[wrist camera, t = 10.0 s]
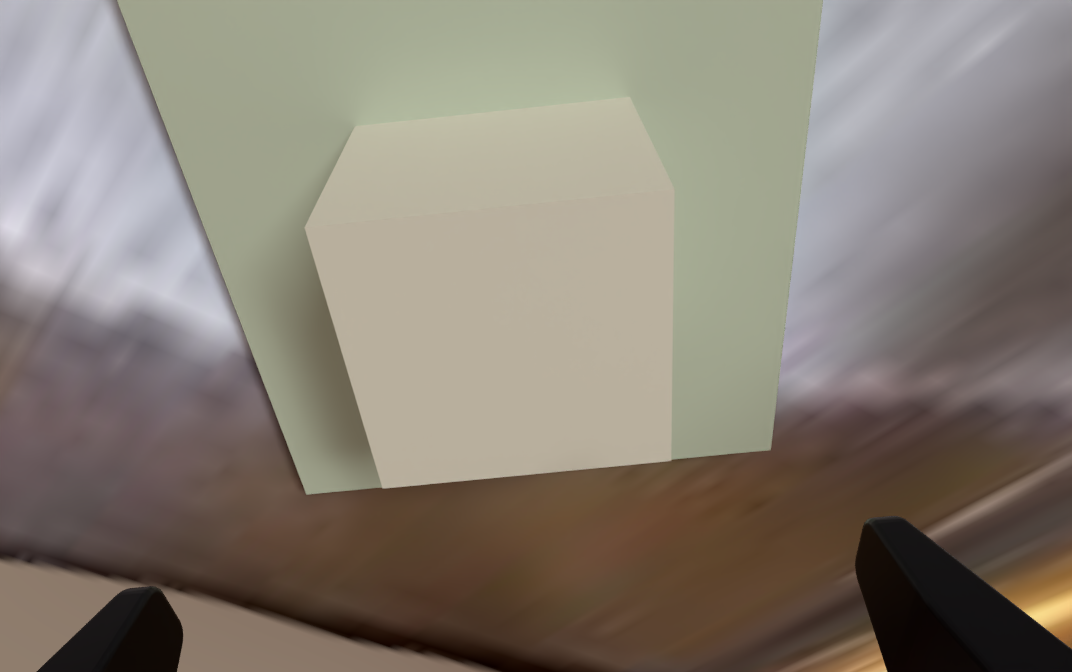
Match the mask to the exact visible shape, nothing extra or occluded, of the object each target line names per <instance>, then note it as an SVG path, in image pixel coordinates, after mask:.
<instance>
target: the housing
mask: <svg viewBox="0 0 1072 672" xmlns="http://www.w3.org/2000/svg"><path fill="white" fill-rule="evenodd" d="M674 198H675V189H674V187H673V185H672V183H671V181H670V179H669V177H668V174H667V172H666V170H665V168H664V166H663V164H662V162H661V160H660V158H659V156H658V154H657V152H656V150H655V148H654V146H653V144H652V142H651V140H650V137H649V135H648V133H647V131H646V129H645V127H644V125H643V123H642V121H641V119H640V117H639V115H638V113H637V111H636V109H635V107H634V105H633V103H632V100H631V98H630V97H624V98H614V99H605V100H596V101H586V102H577V103H568V104H558V105H549V106H539V107H530V108H521V109H511V110H502V111H493V112H483V113H474V114H465V115H455V116H446V117H436V118H427V119H418V120H408V121H399V122H390V123H380V124H371V125H361V126H355V127H354V129H353V131H352V133H351V135H350V137H349V139H348V141H347V143H346V145H345V147H344V149H343V151H342V153H341V155H340V157H339V159H338V161H337V163H336V165H335V167H334V169H333V171H332V173H331V175H330V177H329V179H328V181H327V183H326V185H325V187H324V189H323V191H322V193H321V195H320V197H319V199H318V201H317V203H316V205H315V207H314V209H313V211H312V213H311V215H310V217H309V219H308V221H307V223H306V225H305V227H304V228H305V231H306V235H307V238H308V241H309V245H310V248H311V251H312V255H313V258H314V261H315V265H316V268H317V271H318V275H319V278H320V281H321V285H322V288H323V291H324V295H325V298H326V301H327V305H328V308H329V311H330V315H331V318H332V321H333V325H334V328H335V331H336V335H337V338H338V341H339V345H340V348H341V351H342V355H343V358H344V361H345V365H346V368H347V371H348V375H349V378H350V381H351V385H352V388H353V391H354V395H355V398H356V401H357V405H358V408H359V411H360V415H361V418H362V421H363V425H364V428H365V431H366V435H367V438H368V441H369V445H370V448H371V452H372V455H373V458H374V462H375V465H376V468H377V472H378V475H379V478H380V482H381V485H382V488H383V489H384V488H395V487H405V486H416V485H426V484H436V483H447V482H457V481H468V480H478V479H488V478H499V477H509V476H519V475H530V474H540V473H551V472H561V471H571V470H582V469H592V468H603V467H613V466H623V465H634V464H644V463H654V462H665V461H671V440H672V360H673V279H674Z"/></svg>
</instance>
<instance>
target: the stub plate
mask: <svg viewBox="0 0 1072 672" xmlns="http://www.w3.org/2000/svg"><path fill="white" fill-rule="evenodd" d="M117 2H118V5H119V7H120V10H121V12H122V15H123V18H124V20H125V23H126V25H127V28H128V31H129V33H130V36H131V38H132V41H133V44H134V46H135V49H136V52H137V54H138V57H139V59H140V62H141V65H142V67H143V70H144V72H145V75H146V78H147V80H148V83H149V85H150V88H151V91H152V93H153V96H154V98H155V101H156V104H157V106H158V109H159V111H160V114H161V117H162V119H163V122H164V124H165V127H166V130H167V132H168V135H169V138H170V140H171V143H172V145H173V148H174V151H175V153H176V156H177V158H178V161H179V164H180V166H181V169H182V171H183V174H184V177H185V179H186V182H187V184H188V187H189V190H190V192H191V195H192V197H193V200H194V203H195V205H196V208H197V210H198V213H199V216H200V218H201V221H202V224H203V226H204V229H205V231H206V234H207V237H208V239H209V242H210V244H211V247H212V250H213V252H214V255H215V257H216V260H217V263H218V265H219V268H220V270H221V273H222V276H223V278H224V281H225V283H226V286H227V289H228V291H229V294H230V296H231V299H232V302H233V304H234V307H235V310H236V312H237V315H238V317H239V320H240V323H241V325H242V328H243V330H244V333H245V336H246V338H247V341H248V343H249V346H250V349H251V351H252V354H253V356H254V359H255V362H256V364H257V367H258V369H259V372H260V375H261V377H262V380H263V383H264V385H265V388H266V390H267V393H268V396H269V398H270V401H271V403H272V406H273V409H274V411H275V414H276V416H277V419H278V422H279V424H280V427H281V429H282V432H283V435H284V437H285V440H286V442H287V445H288V448H289V450H290V453H291V455H292V458H293V461H294V463H295V466H296V469H297V471H298V474H299V476H300V479H301V482H302V484H303V487H304V489H305V492H306V495H307V494H317V493H328V492H338V491H349V490H359V489H369V488H380V487H382V485H381V482H380V478H379V475H378V472H377V468H376V465H375V462H374V458H373V455H372V452H371V448H370V445H369V441H368V438H367V435H366V431H365V428H364V425H363V421H362V418H361V415H360V411H359V408H358V405H357V401H356V398H355V395H354V391H353V388H352V385H351V381H350V378H349V375H348V371H347V368H346V365H345V361H344V358H343V355H342V351H341V348H340V345H339V341H338V338H337V335H336V331H335V328H334V325H333V321H332V318H331V315H330V311H329V308H328V305H327V301H326V298H325V295H324V291H323V288H322V285H321V281H320V278H319V275H318V271H317V268H316V265H315V261H314V258H313V255H312V251H311V248H310V245H309V241H308V238H307V235H306V231H305V228H304V227H305V225H306V223H307V221H308V219H309V217H310V215H311V213H312V211H313V209H314V207H315V205H316V203H317V201H318V199H319V197H320V195H321V193H322V191H323V189H324V187H325V185H326V183H327V181H328V179H329V177H330V175H331V173H332V171H333V169H334V167H335V165H336V163H337V161H338V159H339V157H340V155H341V153H342V151H343V149H344V147H345V145H346V143H347V141H348V139H349V137H350V135H351V133H352V131H353V129H354V127H355V126H361V125H371V124H380V123H390V122H399V121H408V120H418V119H427V118H436V117H446V116H455V115H465V114H474V113H483V112H493V111H502V110H511V109H521V108H530V107H539V106H549V105H558V104H568V103H577V102H586V101H596V100H605V99H614V98H624V97H630V98H631V100H632V103H633V105H634V107H635V109H636V111H637V113H638V115H639V117H640V119H641V121H642V123H643V125H644V127H645V129H646V131H647V133H648V135H649V137H650V140H651V142H652V144H653V146H654V148H655V150H656V152H657V154H658V156H659V158H660V160H661V162H662V164H663V166H664V168H665V170H666V172H667V174H668V177H669V179H670V181H671V183H672V185H673V187H674V189H675V198H674V279H673V360H672V440H671V460H672V459H682V458H693V457H703V456H713V455H724V454H734V453H745V452H755V451H766V450H771V443H772V434H773V426H774V417H775V409H776V400H777V391H778V383H779V374H780V366H781V357H782V348H783V340H784V331H785V323H786V314H787V305H788V297H789V288H790V280H791V271H792V262H793V254H794V245H795V237H796V228H797V219H798V211H799V202H800V194H801V185H802V176H803V168H804V159H805V151H806V142H807V133H808V125H809V116H810V108H811V99H812V90H813V82H814V73H815V64H816V56H817V47H818V39H819V30H820V21H821V13H822V4H823V0H117Z"/></svg>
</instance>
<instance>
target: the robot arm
mask: <svg viewBox="0 0 1072 672" xmlns="http://www.w3.org/2000/svg"><path fill="white" fill-rule="evenodd" d="M855 569H856V575H857V579H858V583H859V586H860V589H861V592H862V595H863V598H864V601H865V604H866V607H867V610H868V613H869V616H870V620H871V623H872V626H873V629H874V632H875V635H876V638H877V641H878V644H879V647H880V650H881V653H882V656H883V660H884V663H885V666H886V669H887V672H1072V649H1071V648H1070V647H1068V646H1067V645H1066V644H1064V643H1063V642H1062V641H1061V640H1059V639H1058V638H1057V637H1055V636H1054V635H1053V634H1052V633H1050V632H1049V631H1048V630H1046V629H1045V628H1044V627H1043V626H1041V625H1040V624H1039V623H1037V622H1036V621H1035V620H1034V619H1032V618H1031V617H1030V616H1029V615H1027V614H1026V613H1025V612H1023V611H1022V610H1021V609H1020V608H1018V607H1017V606H1016V605H1014V604H1013V603H1012V602H1011V601H1009V600H1008V599H1007V598H1005V597H1004V596H1003V595H1002V594H1000V593H999V592H998V591H996V590H995V589H994V588H993V587H991V586H990V585H989V584H987V583H986V582H985V581H984V580H982V579H981V578H980V577H979V576H977V575H976V574H975V573H973V572H972V571H971V570H970V569H968V568H967V567H966V566H964V565H963V564H962V563H961V562H959V561H958V560H957V559H955V558H954V557H953V556H952V555H950V554H949V553H948V552H946V551H945V550H944V549H943V548H941V547H940V546H939V545H938V544H936V543H935V542H934V541H932V540H931V539H930V538H929V537H927V536H926V535H925V534H923V533H922V532H921V531H920V530H918V529H917V528H916V527H914V526H913V525H912V524H911V523H909V522H908V521H907V520H905V519H903V518H901V517H898V516H888V517H877V518H870V519H868V520H867V521H866V522H865V523H864V525H863V529H862V533H861V537H860V542H859V546H858V551H857V555H856V560H855ZM182 643H183V629H182V625H181V622H180V620H179V619H178V617H177V615H176V614H175V612H174V610H173V609H172V607H171V605H170V604H169V602H168V601H167V599H166V597H165V595H164V594H163V592H162V591H161V590H160V589H159V588H157V587H154V586H149V587H138V588H130V589H126V590H124V591H122V592H120V593H119V594H117V595H116V596H115V597H114V598H113V599H112V600H111V601H110V602H109V603H108V604H107V605H106V606H105V607H104V608H103V609H102V610H100V612H98V613H97V614H96V615H95V616H94V617H93V618H92V619H91V620H90V621H89V622H88V623H87V624H86V625H85V626H84V627H83V628H82V629H81V630H80V631H79V632H78V633H76V635H75V636H74V637H72V638H71V639H70V640H69V641H68V642H67V643H66V644H65V645H64V646H63V647H62V648H61V649H60V650H59V651H58V652H57V653H56V654H55V655H54V656H53V657H51V658H50V659H49V660H48V661H47V662H46V663H45V664H44V665H43V666H42V667H41V668H40V669H39V670H38V671H37V672H177V668H178V663H179V658H180V653H181V648H182Z"/></svg>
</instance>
